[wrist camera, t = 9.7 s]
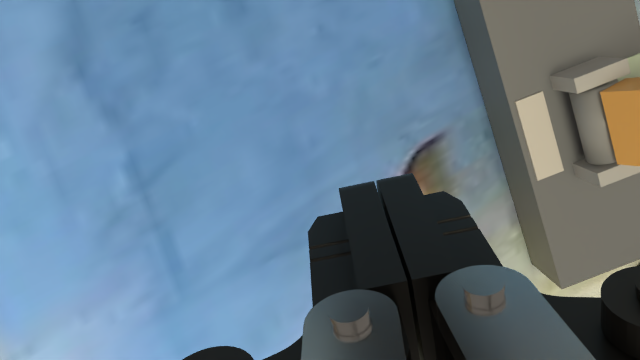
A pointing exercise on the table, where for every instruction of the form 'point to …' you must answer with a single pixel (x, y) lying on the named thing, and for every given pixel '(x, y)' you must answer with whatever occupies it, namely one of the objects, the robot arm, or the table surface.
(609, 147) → the rocker lever
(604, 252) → the switch box
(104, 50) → the table surface
